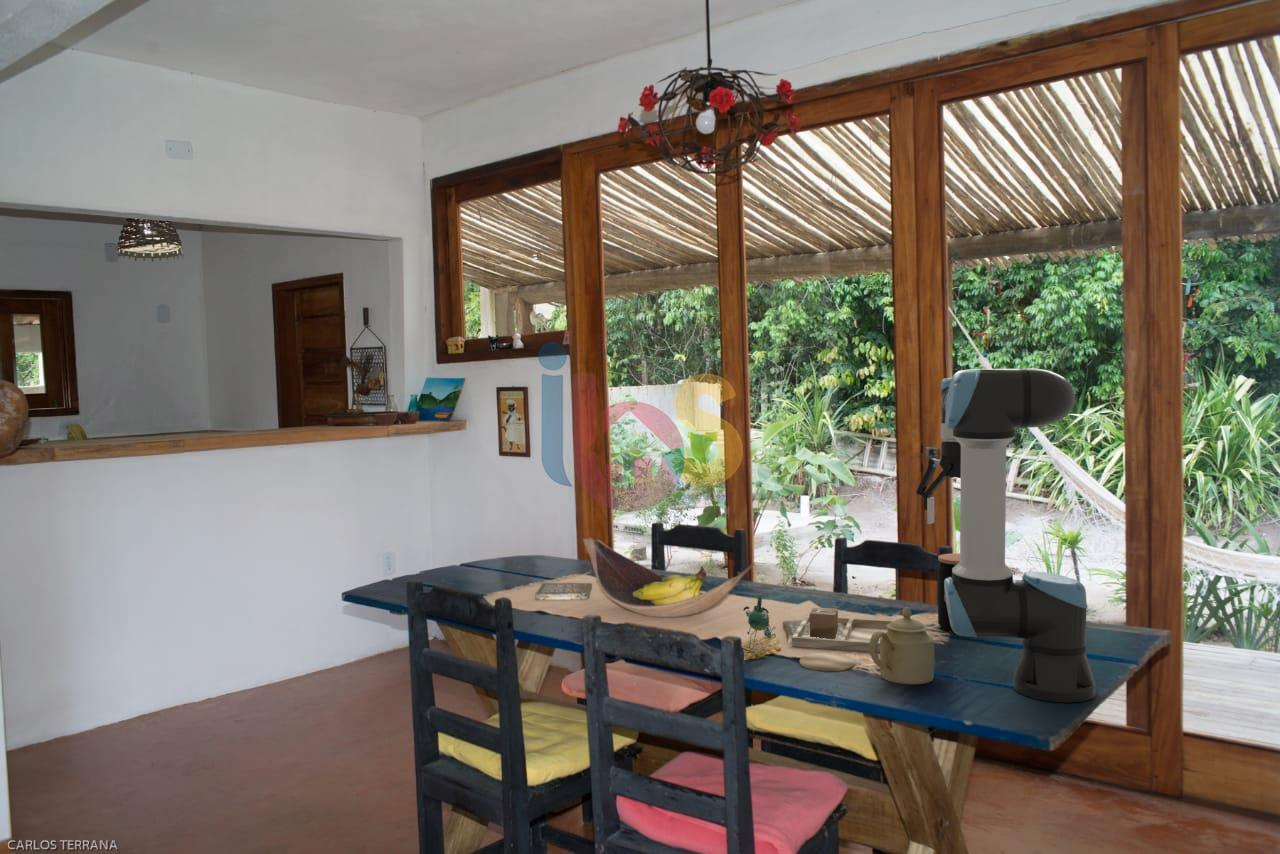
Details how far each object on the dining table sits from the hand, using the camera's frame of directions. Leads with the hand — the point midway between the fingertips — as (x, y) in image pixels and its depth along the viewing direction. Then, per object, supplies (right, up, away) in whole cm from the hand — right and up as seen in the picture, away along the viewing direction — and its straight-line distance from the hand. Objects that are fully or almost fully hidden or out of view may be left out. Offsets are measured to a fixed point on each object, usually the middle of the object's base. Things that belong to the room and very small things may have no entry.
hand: (957, 525), depth 242 cm
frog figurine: (-50, -28, -15) cm, 60 cm away
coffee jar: (+1, -26, +2) cm, 26 cm away
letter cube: (-34, -26, -5) cm, 43 cm away
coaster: (-37, -28, -26) cm, 53 cm away
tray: (-29, -27, -6) cm, 40 cm away
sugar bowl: (-23, -29, -38) cm, 53 cm away
